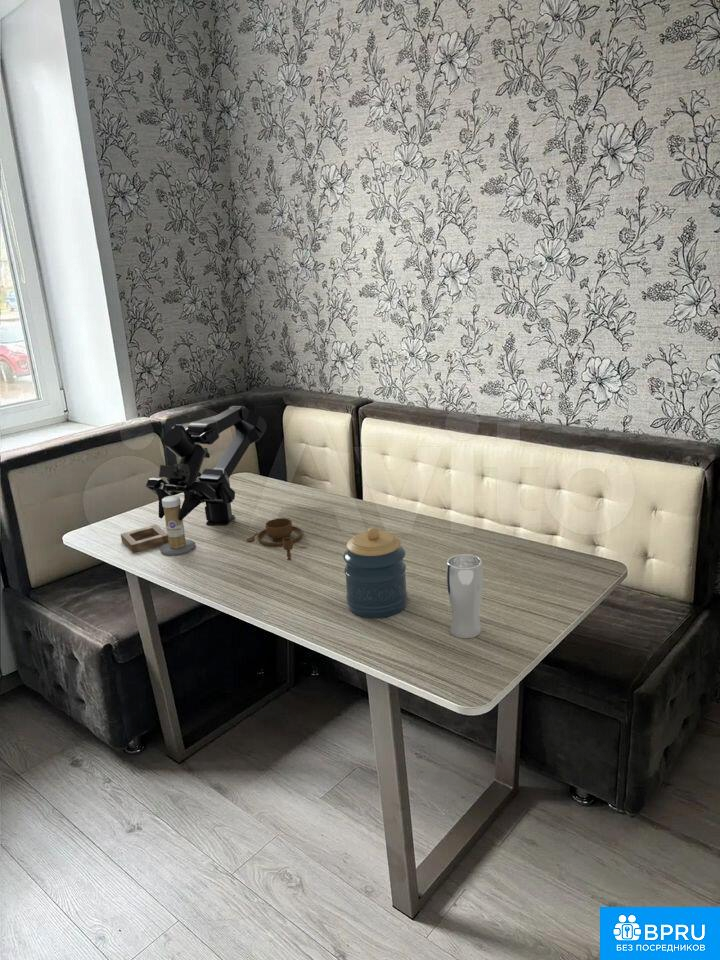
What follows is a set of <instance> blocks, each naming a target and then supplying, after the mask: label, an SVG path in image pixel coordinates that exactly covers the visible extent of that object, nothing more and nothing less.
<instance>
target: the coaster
mask: <svg viewBox="0 0 720 960" xmlns="http://www.w3.org/2000/svg"><path fill="white" fill-rule="evenodd" d="M185 540H186V545H185V546H184V547H182V548H178V549H172V548H170V547H169V542H168V543H165V544H162V545H160V549H159V551H160V553H161V554H162V555H165V556H179V555H184V554H188V553H189V552H191V551H193V550H194V549H195V548H196V542H195V541H194V540H193V539H186V538H185Z"/></svg>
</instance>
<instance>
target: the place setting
mask: <svg viewBox="0 0 720 960" xmlns="http://www.w3.org/2000/svg"><path fill="white" fill-rule="evenodd" d="M293 531H294V532H293ZM293 533H296V534H297V535H298V536H297V537H295V538H292V537H290V536H291V534H293ZM264 536H268V537H269V538H270V539H272V540H274V541H277V542H273V541H272V542H269V541H264V540H262V539H263V538H264ZM302 536H303V530H302V529H301V528H300V527H298V526H295V525H293V523H292V520H291V519H289V518H284V517H283V518H282V517H281V518H274V519H270V520H268V521H267V522H266V523H265V528H264V529H263V530H260V532H256V533H254V535H253V536H250V537H248V538H247V539H246V542H248V543H250V542H253V541H254V540H255V537H257V541H258V542H259V543H260V544H261V545H262V546H264V547H265V546H266V547H283V549H284V550H285V551H286V557H287V559H286V560H287V561H292V560H291V559H292V558H291V557H292V554H291V550H293V547H294V545H293V544H295V543H296V542H299V541H300V539H302ZM278 541H279V542H278ZM300 548H301V549H303V548H305V549H307V547H306V546H301V547H300Z"/></svg>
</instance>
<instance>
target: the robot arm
mask: <svg viewBox="0 0 720 960" xmlns="http://www.w3.org/2000/svg"><path fill="white" fill-rule="evenodd" d="M232 427H234V430H235V436H234V438H233V439H232V440H231V442H230V444H229V445H228V446H227V448H226V449H225V451H224V453H223V454H222V456H221V457H220V459H218V462H217V463H216V465H215V467H214V468H208V467H207V468H204V469H203V471H202V473H201V472H200V471H201V468H202V465H203V462H204V459H205V458H206V459H209V458H211V455H210V452H209V450H208V447H204V446H202V445H209V446H211V445H213V444H214V443H215V442H216V441H217V440H218V439H219V438H220V434H221V433H222V432H225V431H226V430H228V429H230V428H232ZM266 431H267V422H266V421H265V419H264V417H262V416H260V415H259V414H257V413H255V412H253V411H251V410H249V409H248V408H247V407H245V406H244V405H243V406H242V405H231V406H229V407H228V409H225V410H224V411H222V412H220V413H218V414H217V415H216V414H215V416H213V417H211V418H209V419H206V420H199V421H198V420H197V421H194V422H191V423H189V424H188V425H187V428H185V427H184V426H183V425H182V424H174V426H173V428H171V429H169V430H167V432H166V433H165V434H164V435H163V438H162V443H163V445H164V446H165V447H167V449H169V450H170V451H171V453H174V455H175V456H177V457H179V458H180V459H179V462H178V463H177V462H175V463H174V464H173V465H167V464H166V465H165V464H160V465H159V471H158V478H156V477H150V478H148V479H147V481H146V485H145V487H146V488H147V489H149V490H150V491H151V492H152V493H154V494H155V495H157V497H158V498H157V499H158V518H159V519H164V517H165V514H164V508H163V506H162V499H163V498H165V497H167V496H171V493H181V494H182V493H183V498H184V499H183V502H182V503H181V504H182V505H181V506H180V507H181V510H180V513H179V517H178V520H180V521H182V520H184V518H186V517H187V516H188V515H189V514H190V513H191V512H192V511H193V510H194V509H196V508H197V507H198V506H199V505H200V504H204V503H205V506H204V511H205V512H204V513H205V519H206V522H205V525H207V526H208V525H211V526H212V525H213V526H214V525H215V526H218V525H221V526H222V525H223V526H224V525H225V526H226V525H229V524H230V523H231V521H233V519H234V518H235V514H233V509H232V504H231V503H233V501H234V500H235V496H236V491H235V490H233V488H232V487H231V484H230V483H231V481H230V477H231V476H232V475H233V472H234V471H235V469H236V467H237V466H238V464H239V463H240V461H241V460H242V458H243V456H244V455H245V453H246V452H247V450H248V448H250V445H252V444H254V443H255V442H258V441H259V440H260V439H261V438H262V437H263V435H264V434H265V433H266ZM163 478H165V479H166V480H164V479H163ZM197 479H198V480H197ZM166 481H167V482H166ZM168 482H170V483H168Z"/></svg>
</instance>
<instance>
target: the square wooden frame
mask: <svg viewBox="0 0 720 960" xmlns="http://www.w3.org/2000/svg"><path fill="white" fill-rule="evenodd" d="M120 539H121V542H122V543H123V544H124V545H125V546H126V547H127V548H128V549H129V550H130V552H131V553H132V554H133V553H137V552H140V551H145V550H148V549H152V548H156V547H159V546H162V545H164V544H165V543H168V542H169V540H168V535H167V531H165V530H164V529H162V528H161V527H160V526H159V525H158V524H153V525H149V526H146V527H141V528H138V529H133V530H131V531H127V532H123V533H120Z"/></svg>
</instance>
